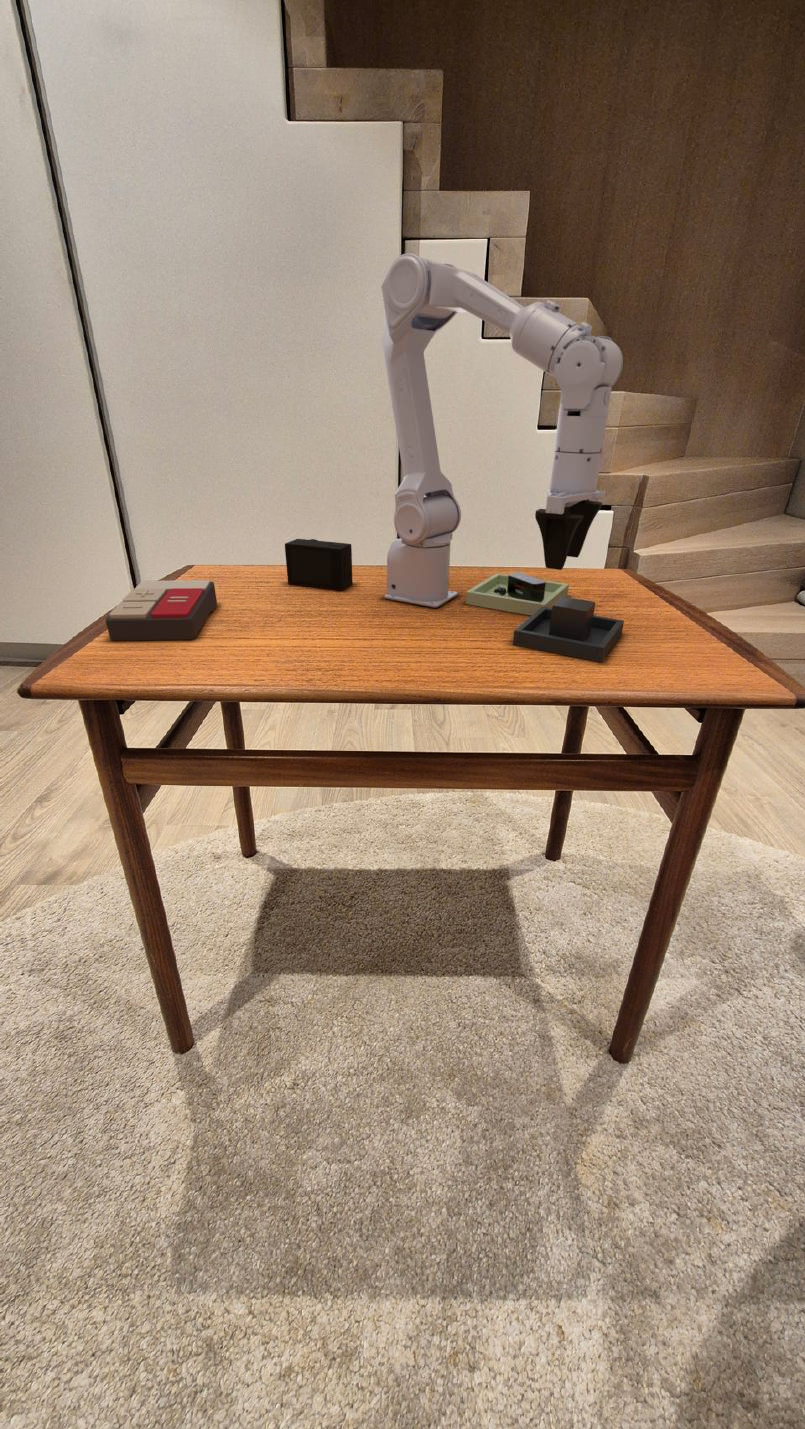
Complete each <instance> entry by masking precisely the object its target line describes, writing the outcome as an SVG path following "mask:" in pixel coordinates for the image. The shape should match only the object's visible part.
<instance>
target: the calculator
mask: <svg viewBox="0 0 805 1429" xmlns="http://www.w3.org/2000/svg"><path fill="white" fill-rule="evenodd" d="M217 605H218V599H217V592H216V587H215V582H213V581H211V580H209V579H198V580H197V579H193V580H191V579H190V580H189V579H187V580H186V579H185V580H183V579H181V580H175V579H173V580H171V579H170V580H141V581H140V582H139V583H138V584H137V585H136V587H135V588H133V589H131V590H130V591H129V592H128V594H127V595H125V597H123V599H122V601H120V602H119V603H118V604H117V605H116V606H115V607H114V608H113V610H112V611H110V612H109V615H108V616H107V617H106V618H105V624H106V628H107V632H108V635H109V636H108V637H109V639H110V641H113V642H114V641H115V642H116V641H117V642H118V641H119V642H121V641H179V640H180V641H181V640H183V641H184V640H186V641H190V640H194V639H195V638H196V637H197V636H198V634H199V632H200V630H201V628H202V626H204V623H205V621H206V620H207V618H208V616H209V614H210V613H213V612H214V610H215V608H216V607H217Z"/></svg>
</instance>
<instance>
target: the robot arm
mask: <svg viewBox="0 0 805 1429" xmlns="http://www.w3.org/2000/svg"><path fill="white" fill-rule="evenodd" d="M380 288H381V294H382V301H383V306H384V307H383V308H384V319H383V328H382V329H383V330H382V340H381V343H382V344H381V345H382V353H383V359H384V365H385V370H386V377H387V382H388V389H389V394H390V395H389V396H390V402H391V408H392V413H393V419H394V426H395V430H396V437H397V444H398V450H399V456H400V462H401V468H402V475H403V479H402V481H401V483H400V484H399V486H398V487H397V489H396V491H395V492H394V500H395V510H394V514H393V515H394V516H393V524H394V528H395V532H396V534H397V535H398V537H399V538H397V539H395V540H393V541H392V542H391V544H390V546H389V548H388V551H387V556H386V594H385V595H384V599H386V600H392V601H397V602H401V603H408V604H414V605H419V606H425V607H429V608H435V609H436V608H439V607H440V606H442V605H444V604H445V603H447V602H449V601H450V600H452V599H454V598H455V597H457V596H458V595H459V592H457V591H453V590H449V586H450V585H449V583H450V565H451V564H450V563H451V544H452V543H451V542H452V540H453V533H454V532H455V531H456V530H457V529H458V528H459V527H460V523H461V520H462V509H461V506H460V503H459V502H458V500H457V499H456V496H455V495H454V490H453V484H452V483H451V481H450V480H449V479H448V478H447V477H446V476H445V475H444V473H443V471H442V470H441V464H440V463H441V462H440V456H439V450H438V444H437V443H438V442H437V437H436V436H437V435H436V429H435V424H434V423H435V422H434V416H433V409H432V408H433V407H432V402H431V395H430V386H429V381H428V374H427V366H426V360H425V351H426V349H427V347H428V346H429V344H430V342H431V341H432V339H433V338H434V337H435V336H436V335H437V334H438V333H439V332H441V330H442V329H443V328H444V327H446V325H448V323H449V322H450V321H451V320H453V318H455V317H456V315H457V314H458V313H459V314H465V313H467V312H468V313H470V315H473V316H475V317H477V318H478V319H480V320H482V321H484V322H485V323H487V324H489V325H491V326H493V327H494V328H496V329H498V330H500V331H501V332H503V333H505V334H507V335H509V337H510V344H511V349H512V350H513V352H514V353H515V354H516V355H518V356H519V357H521V358H523V360H526V361H527V362H529V363H530V364H532V365H534V366H535V367H537V368H538V369H540V370H542V371H543V372H545V373H546V374H547V375H549V376H551V377H552V378H554V379H555V380H556V383H557V385H558V386H559V389H560V400H559V401H560V402H559V409H558V415H557V416H558V418H557V424H556V433H555V441H554V442H555V443H554V449H553V450H554V451H553V458H552V464H551V465H552V466H551V474H550V483H549V487H548V488H547V493H546V494H547V496H546V504H545V508H538V509H536V510H535V516H534V517H535V520H536V523H537V525H538V528H539V531H540V534H541V535H540V536H541V540H542V548H543V556H544V558H543V559H544V565H545V569H551V570H557V571H562V570H563V569H564V566H565V565H566V561H567V559H568V558H569V557H570V558H579V556H580V554H581V552H582V549H583V547H584V544H585V542H586V538H587V536H588V533H589V530H590V528H591V526H592V524H593V522H594V521H595V520H594V519H595V518H596V516H597V515H598V513H599V511H600V510H601V508H602V506H603V502H601V501H595V500H594V499H603V498H605V497H606V494H607V492H606V490H600V489H597V487H598V480H599V474H600V468H601V461H602V454H603V449H604V442H605V436H606V431H607V430H606V428H607V424H608V417H609V408H610V401H611V394H612V388H613V386H614V385H615V384H616V382H618V380H619V378H620V376H621V374H622V371H623V367H624V366H623V365H624V357H623V353H622V351H621V349H620V346H618V344H617V343H615V342H614V341H613V339H612V337H609V336H601V335H600V336H594V335H592V333H591V332H592V329H593V326H592V325H591V324H589V323H587V322H584V321H583V322H581V323H580V324H579V323H577V322H575V320H572V319H571V318H570V317H567V316H565V315H564V314H562V313H561V312H560V309H561V305H560V304H558V303H557V302H555V301H552V300H549V299H548V300H546V302H545V303H544V302H543V301H536V302H533V303H531V304H528V305H527V306H523V305H522V304H520V303H519V302H517V301H516V300H515V299H513V298H512V297H510V296H508V295H507V294H506V293H505V292H502V291H501V290H500V289H498V288H496V287H495V286H494V285H492V284H491V283H489V282H488V281H486V280H485V279H483V278H482V277H480V276H479V275H477V274H476V273H474V272H471V271H468V270H465V269H461V268H458V267H457V266H455V265H453V264H450V263H441V262H437V261H434V260H431V259H428V258H423V257H420V256H419V255H417V254H415V253H411V252H407V253H403V254H401V255H400V256H398V257H397V258H395V260H394V261H393V262H392V264H391V266H390V268H389V270H388V272H387V274H386V276H385V277H384V280H383V282H382V284H381V287H380Z"/></svg>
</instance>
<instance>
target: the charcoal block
mask: <svg viewBox="0 0 805 1429" xmlns="http://www.w3.org/2000/svg"><path fill="white" fill-rule="evenodd" d="M596 604H597V602H596V601H592V600H585V599H579V598H573V597H568V596H567V597H562V598H561V599H559V600H558V601H557V602H556V603H555V604H554V605H553V606H552V614H551V621H550V629H549V635H551V636H557V637H562V638H567V639H572V640H577V641H583V642H584V641H585V639H586V638H587V637H588V636H589V635H590V633H591V627H592V621H593V615H594V616H595V608H596Z"/></svg>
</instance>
